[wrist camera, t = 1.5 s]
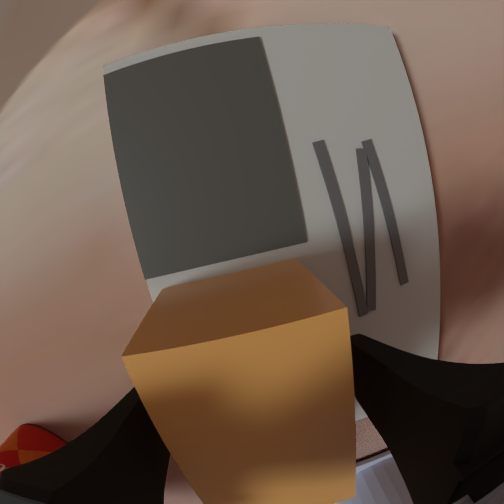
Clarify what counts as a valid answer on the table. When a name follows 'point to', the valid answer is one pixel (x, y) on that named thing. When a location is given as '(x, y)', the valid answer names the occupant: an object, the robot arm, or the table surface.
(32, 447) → the coffee cup
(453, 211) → the table surface
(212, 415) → the block
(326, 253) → the board
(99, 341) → the table surface
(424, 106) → the table surface
